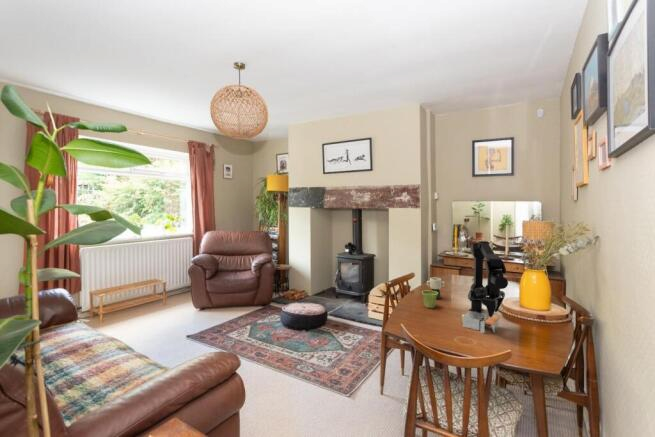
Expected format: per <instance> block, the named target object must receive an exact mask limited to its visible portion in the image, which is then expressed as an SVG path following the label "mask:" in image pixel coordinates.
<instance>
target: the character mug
mask: <svg viewBox="0 0 655 437" xmlns="http://www.w3.org/2000/svg"><path fill="white" fill-rule="evenodd" d="M426 286H428V287H430V291H436V292H438V294H437V297H436V300H437V299H441V288H443V287H445V281H442V278H440V277H435V276H433V277H430V278H429V280H426Z"/></svg>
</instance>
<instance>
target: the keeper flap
mask: <svg viewBox="0 0 655 437" xmlns="http://www.w3.org/2000/svg"><path fill="white" fill-rule="evenodd" d="M500 319H501V316H498V315H494V314H493V316H492V317H489V316H488V315H487V316H486V317H485V319H484V320H483V321H485V324H490V326H493V325H494V324H495V323H496V322H497V321H498V322H499V320H500Z"/></svg>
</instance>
